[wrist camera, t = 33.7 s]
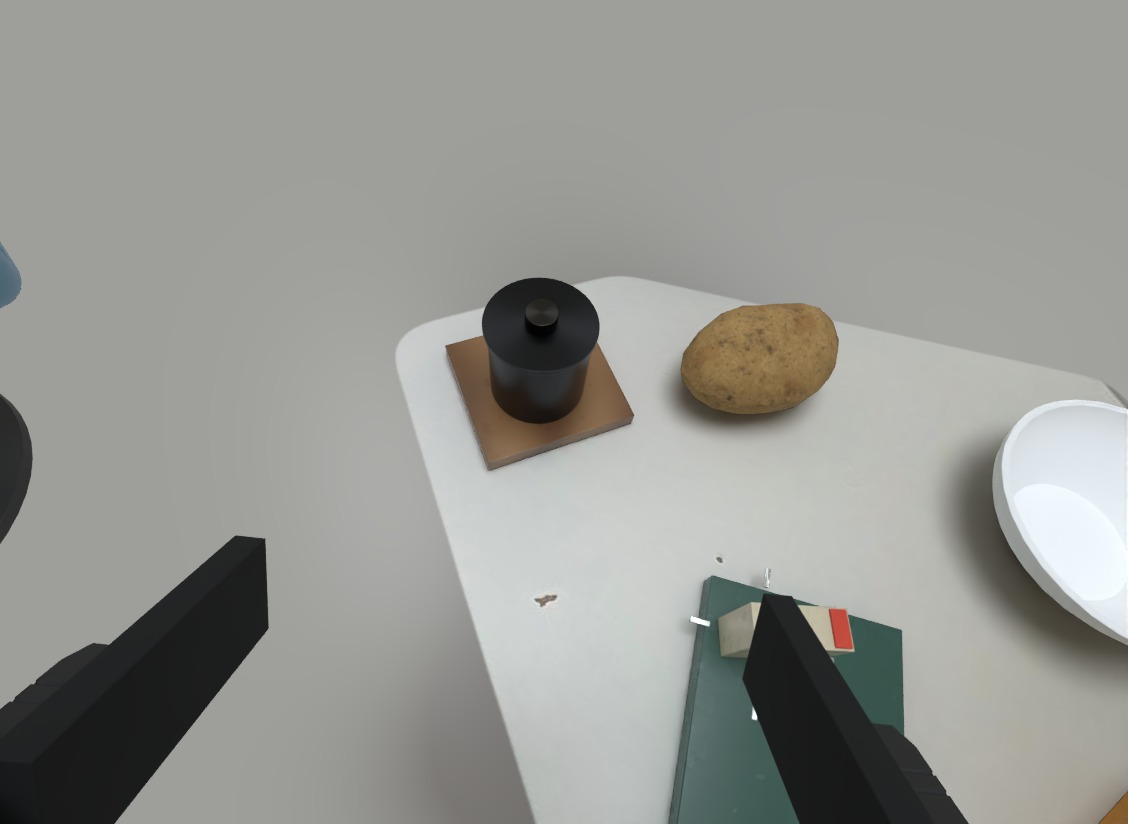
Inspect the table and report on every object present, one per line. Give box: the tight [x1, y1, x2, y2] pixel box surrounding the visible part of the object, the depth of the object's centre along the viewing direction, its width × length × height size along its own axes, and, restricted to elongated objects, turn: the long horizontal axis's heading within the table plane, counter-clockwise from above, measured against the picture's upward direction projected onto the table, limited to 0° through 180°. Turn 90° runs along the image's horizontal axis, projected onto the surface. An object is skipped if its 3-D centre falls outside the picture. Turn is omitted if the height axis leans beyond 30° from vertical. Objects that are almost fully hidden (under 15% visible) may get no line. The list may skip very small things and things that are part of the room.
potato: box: [681, 303, 839, 414], centre depth 49 cm, size 10×14×8 cm
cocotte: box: [482, 278, 599, 424], centre depth 45 cm, size 9×9×10 cm
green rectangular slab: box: [669, 568, 904, 824], centre depth 38 cm, size 15×20×2 cm
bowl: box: [992, 400, 1128, 645], centre depth 44 cm, size 20×20×7 cm
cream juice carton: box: [718, 602, 855, 658], centre depth 37 cm, size 6×2×7 cm, turn 87°
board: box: [445, 336, 634, 470], centre depth 50 cm, size 13×12×2 cm
